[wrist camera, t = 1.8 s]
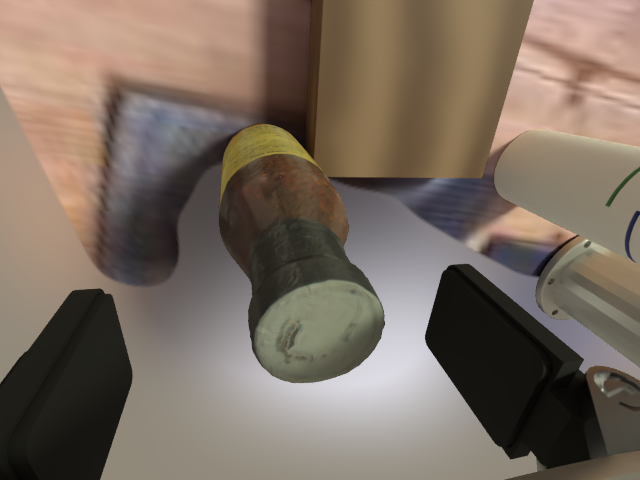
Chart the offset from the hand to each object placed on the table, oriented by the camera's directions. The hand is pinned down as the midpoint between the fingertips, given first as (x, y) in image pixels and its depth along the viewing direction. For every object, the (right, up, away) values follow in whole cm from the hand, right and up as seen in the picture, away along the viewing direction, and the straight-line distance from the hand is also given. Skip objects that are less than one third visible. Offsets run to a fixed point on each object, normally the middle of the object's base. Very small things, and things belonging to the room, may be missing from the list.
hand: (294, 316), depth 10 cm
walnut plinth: (+7, +15, +16) cm, 23 cm away
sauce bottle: (-4, +9, +17) cm, 20 cm away
